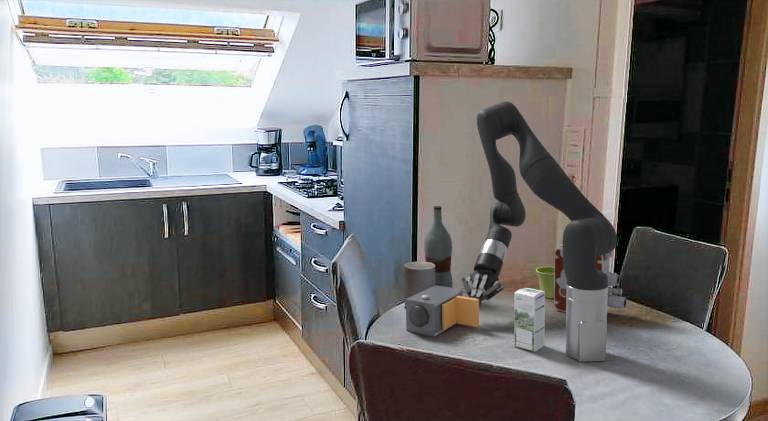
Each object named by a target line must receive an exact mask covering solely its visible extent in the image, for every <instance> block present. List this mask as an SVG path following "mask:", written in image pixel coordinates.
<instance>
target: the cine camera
mask: <svg viewBox="0 0 768 421" xmlns="http://www.w3.org/2000/svg"><path fill="white" fill-rule="evenodd" d="M613 251H614V250H613ZM613 251H611V252H610V253H608V254H605V255H600V256H596V268H597V270H599V271H602V272H604V273H605V274H606V275H607V276H608V298H607V309H608V307H609V308H613V309H621V310H622V309H626V308H627V302H628V301H627V298H626V297H625V296H622V294H623V288H615V287H616V286H619V285H620V281H621V280H620V279H621V278H620V277H621V276H620V275H619V274H618V273H616V272H610V258H613ZM553 261H554V266H553V267H554V298H553V302H554V309H556V310H557V311H558V312H563V313H566V296H567V278H566V275H565V272H564V267H563V244H562V245H560V244H559V245H558V246H557V248H556V249H555V252H554V260H553Z"/></svg>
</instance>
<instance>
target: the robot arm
mask: <svg viewBox="0 0 768 421" xmlns="http://www.w3.org/2000/svg"><path fill="white" fill-rule="evenodd" d="M476 127H477V131H478V135H479V139H480V141H481V145H482V148H483V152H484V153H483V154H485V155H484V156H485V158H486V162H487V166H488V169H489V174H490V178H491V186H492V187H491V188H492V194H493V198H494V199H495V200H496V201H497V202H494V203H493V204H492V205H491V207H490V212H489V228H488V231H487V234H486V237H485V240H484V242H483V244H482V246H481V248H480V251H479V253H478V256H477V258H476V261H475V264H474V266H473V270H472V272H471V273H470V274H469V276H468V277H464V276H463V277H461V278H460V279H461V280H460V281H461V283H462V284H463V285H462V286H463V288H464V291H465V293H466V295H467V296H468V297H469V298H475V299H479V308H481V304H482V302H483V301H485V300H486V301H489V300H491V299H492V298H493V297H495V296H496V295H497V294H499V293H501V292H502V291H504V287H503V285H502V282H499V280H500V279H499V276H500V274H501V272H502V268H503V265H504V262H505V260H506V257H507V253H508V249H509V246H510V243H511V241H512V238H513V235H512V231H511V230H510V229H509V228H507V227H514V228H515V227H517V228H518V227H521V226H522V225H523V224H524V222H525V221H526V215H527V213H526V208H525V205H524V204H523V201H522V199H521V197H520V194H519V192H518V186H517V176H516V173H515V169H514V168H513V166H512V165H511V164H510V163H509V162H508V160H507V159H505V158H504V156H502V154H501V153H500V152H499V150H498V148H497V140H500V139H503V138H505V137H507V136H508V137H509V136H511V135H512V136H513V137H514V138H515V139H516V141H517V143H518V145H519V160H518V161H519V162H518V164H519V165H518V166H519V168H518V169H519V174H520V177H521V178H522V179H523V181H524V182H525V184H526V185H527V186H528V187H529V189H530V190H531V191H532V193H533V194H534V195H535V196H537V197H538V198H539V199H540V200H542V201H543V202H545V203H547V204H548V205H549V206H551V207H553V208H555V209H556V210H558V211H559V212H561V213H563V215H565V217H567V219H568V220H569V222H568V223H567V224H566V226H565V228H564V230H563V234H562V245H563V267H564V272H565V275H566V278H567V296H566V312H565V354H566V356H568V357H570V358H572V359H575V360H577V361H579V362H582V363H584V362H605V361H606V358H607V357H606V356H607V330H608V329H607V328H608V324H607V323H608V322H607V321H608V308H607V298H608V276H607V275H606V274H605V273H604V272H602V271H599V270H597V268H596V256H600V255H605V254H608V253H610V252H611V251H614V250H615V248H616V246H617V244H618V237H617V232H616V230H615V227H614V226H613V224H612V222H610V220H609V219H608V218H607V217H606V216H605V215H604V214H603V213H602V212H601V211H600V210H599V209H598V208H597V207H596V206H595V205H593V203H592V202H591V201H590V200H589V199H588V198H587V197H586V196H585V195H584V193H582V192H581V190H580V189H579V188H578V187H577V186H576V184H575V183H574V182H573V180H572V179H571V178H570V177H569V176H568V175H567V173H566V172H565V170H564V169H563V168H562V167H561V165H560V164H559V163H558V162H557V160H556V159H555V158H554V157H553V155H552V154H550V152H549V151H548V150H547V149H546V148H545V146H544V145H543V144H542V143H541V141H540V140H539V139H538V137H537V136H536V134H535V133H534V131H533V130H532V128H531V127H530V125H529V124H528V122H527V121H526V119H525V118H524V116H523V115H522V113H521V111H520V110H519V108H517V107H516V105H515V104H514V103H512V102H511V101H502V102H499V103H496V104H493V105H491V106H489V107H485V108H483V109H481V110H479V111H478V113H477V115H476ZM505 226H507V227H505ZM471 284H472V287H470V285H471ZM471 288H472V289H471Z"/></svg>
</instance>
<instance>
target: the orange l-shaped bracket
mask: <svg viewBox="0 0 768 421" xmlns="http://www.w3.org/2000/svg"><path fill="white" fill-rule="evenodd" d="M455 323H456V324H458V325H459V324H460V325H463V326H469V327H475V328H477V327H479V326H480V307H479V299H475V298H470V297H469V296H468V297H467V296H464V295H462V296H457V297H456V298H454V299H452V300H450V301H448V302H446V303H444V304H443V305H442V328H443V330H445V329H446V330H448V329H450V328H451V327H453V326H454V324H455ZM456 324H455V325H456ZM452 325H453V326H452ZM450 326H451V327H450ZM449 327H450V328H449ZM447 328H448V329H447ZM446 330H445V331H446Z"/></svg>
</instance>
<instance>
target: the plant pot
mask: <svg viewBox="0 0 768 421" xmlns="http://www.w3.org/2000/svg"><path fill="white" fill-rule="evenodd" d="M535 272H536V274H537V276H538V283H539V290H541V291H545V298H547V299H554V266H541V267H536V269H535Z"/></svg>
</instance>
